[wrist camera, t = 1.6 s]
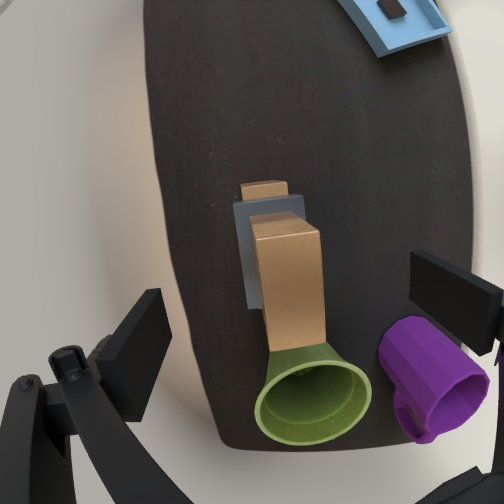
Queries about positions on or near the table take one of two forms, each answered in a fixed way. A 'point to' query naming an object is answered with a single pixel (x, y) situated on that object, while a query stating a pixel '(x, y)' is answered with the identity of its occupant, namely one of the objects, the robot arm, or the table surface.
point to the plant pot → (311, 395)
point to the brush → (282, 269)
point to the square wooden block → (263, 190)
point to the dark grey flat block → (391, 8)
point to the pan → (397, 24)
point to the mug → (430, 378)
